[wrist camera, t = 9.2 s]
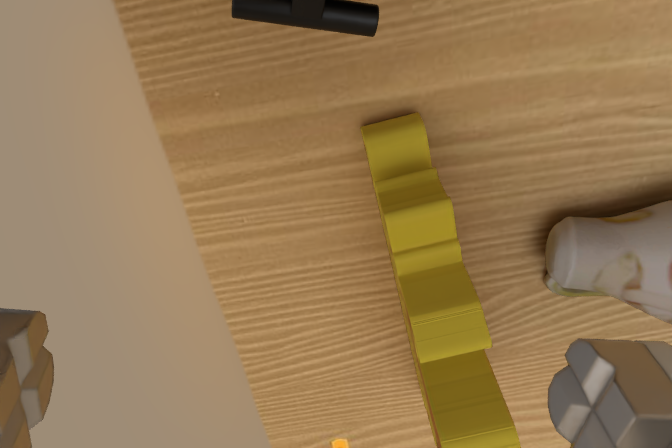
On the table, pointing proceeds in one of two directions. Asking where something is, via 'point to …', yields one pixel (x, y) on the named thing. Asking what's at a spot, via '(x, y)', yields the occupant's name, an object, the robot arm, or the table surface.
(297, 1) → the lever
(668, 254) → the mug
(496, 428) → the decorative sign
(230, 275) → the table surface
